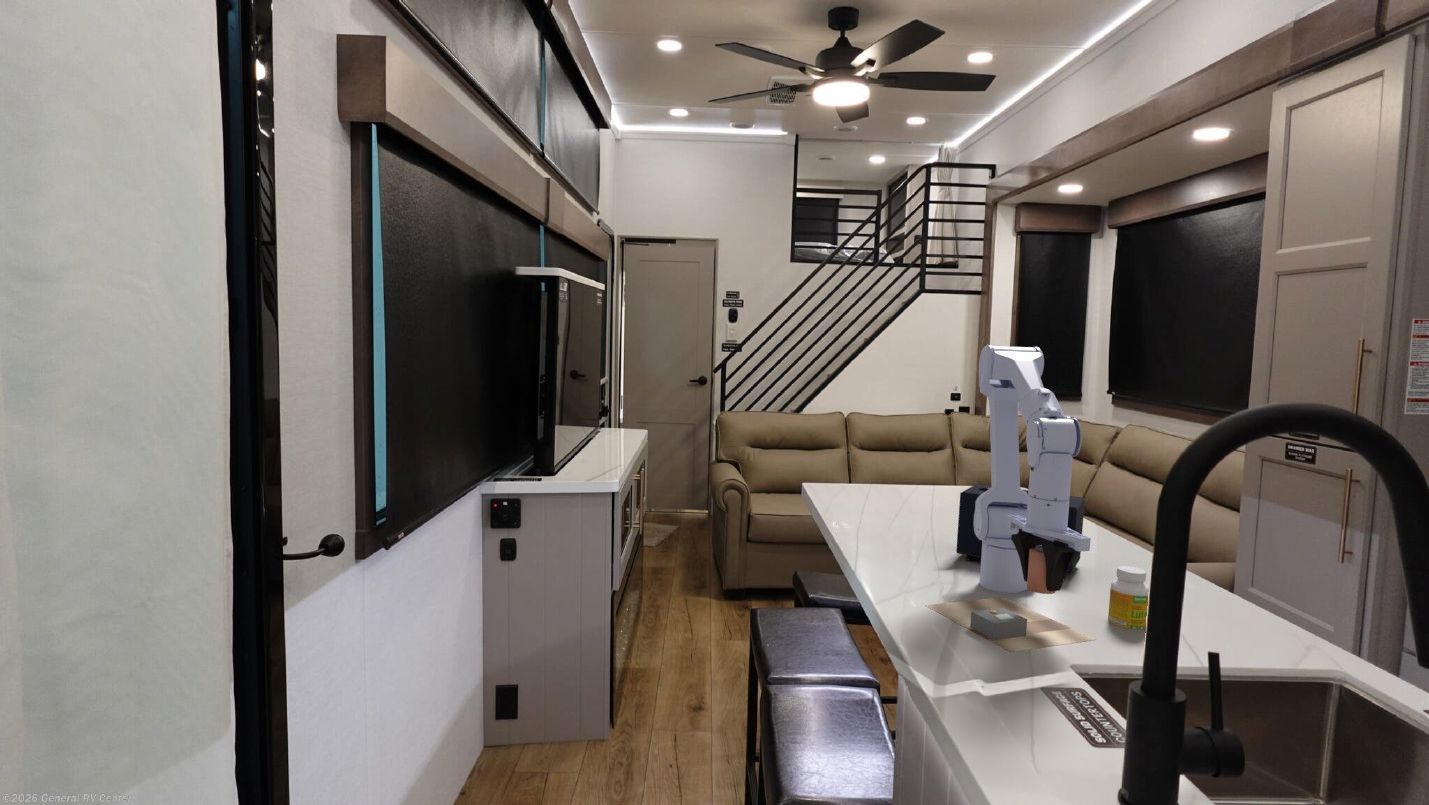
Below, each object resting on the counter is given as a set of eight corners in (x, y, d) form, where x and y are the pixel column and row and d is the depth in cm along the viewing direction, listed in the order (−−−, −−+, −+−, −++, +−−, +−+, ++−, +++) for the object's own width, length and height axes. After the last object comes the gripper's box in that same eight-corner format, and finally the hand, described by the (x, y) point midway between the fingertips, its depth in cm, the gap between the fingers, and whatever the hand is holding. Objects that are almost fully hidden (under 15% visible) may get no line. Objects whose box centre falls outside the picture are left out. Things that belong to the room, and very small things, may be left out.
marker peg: (1041, 584, 117) (1044, 543, 116) (1061, 592, 113) (1064, 549, 113) (1020, 586, 115) (1023, 544, 115) (1040, 595, 112) (1043, 551, 111)
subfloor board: (1002, 603, 128) (1003, 597, 128) (1095, 647, 111) (1096, 639, 110) (924, 612, 122) (925, 605, 122) (1009, 660, 105) (1010, 651, 105)
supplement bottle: (1131, 638, 115) (1137, 576, 114) (1099, 626, 119) (1104, 566, 119) (1153, 633, 117) (1159, 572, 116) (1121, 621, 122) (1126, 563, 121)
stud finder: (1001, 623, 115) (1003, 606, 115) (1026, 636, 111) (1027, 618, 111) (970, 627, 113) (971, 610, 113) (993, 640, 109) (995, 622, 108)
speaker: (1079, 566, 153) (1085, 493, 152) (1071, 582, 142) (1077, 504, 141) (970, 547, 165) (975, 479, 163) (955, 560, 154) (960, 488, 153)
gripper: (993, 488, 119) (987, 573, 120) (1066, 509, 105) (1059, 603, 106) (1028, 487, 121) (1022, 569, 122) (1104, 506, 108) (1096, 599, 109)
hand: (1041, 585), depth 114 cm, fingers closed on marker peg, 4 cm apart
